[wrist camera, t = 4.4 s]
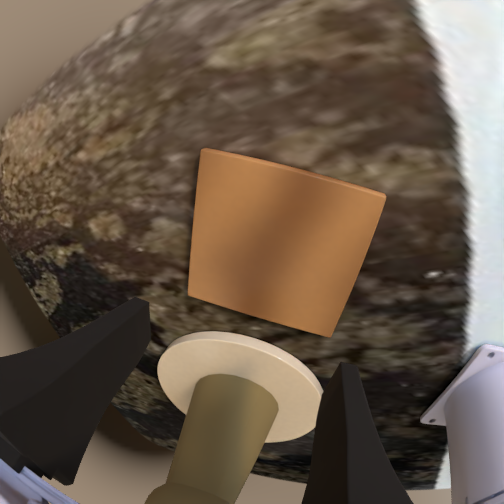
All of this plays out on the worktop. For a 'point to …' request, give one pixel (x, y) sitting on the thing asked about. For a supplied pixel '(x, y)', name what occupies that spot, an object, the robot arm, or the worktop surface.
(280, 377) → the plate
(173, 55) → the worktop surface
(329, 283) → the cork trivet
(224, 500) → the pepper shaker
